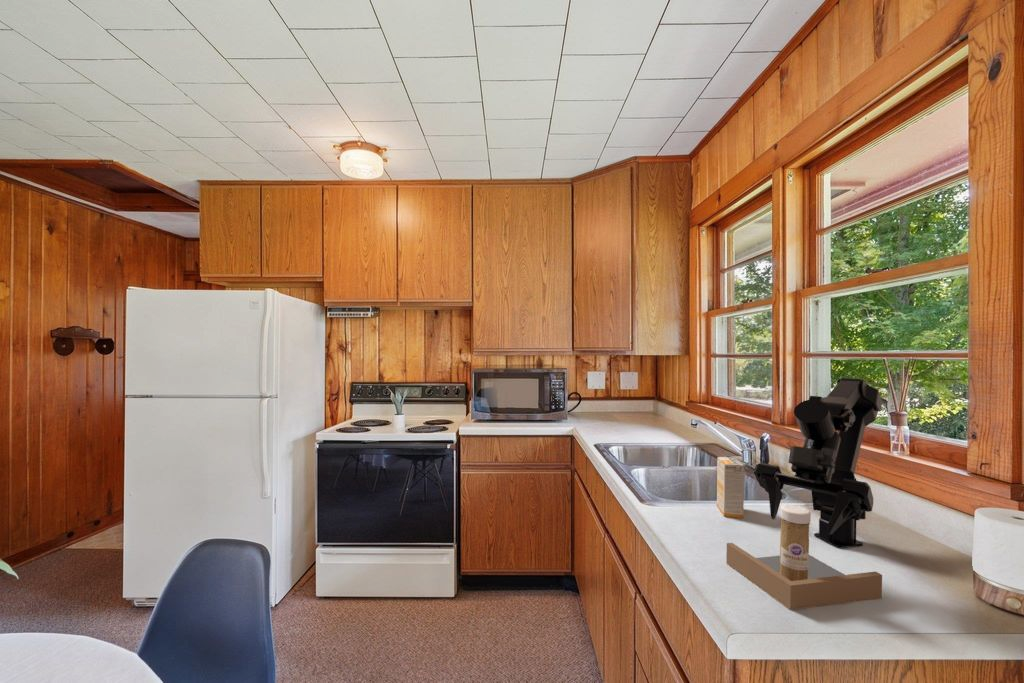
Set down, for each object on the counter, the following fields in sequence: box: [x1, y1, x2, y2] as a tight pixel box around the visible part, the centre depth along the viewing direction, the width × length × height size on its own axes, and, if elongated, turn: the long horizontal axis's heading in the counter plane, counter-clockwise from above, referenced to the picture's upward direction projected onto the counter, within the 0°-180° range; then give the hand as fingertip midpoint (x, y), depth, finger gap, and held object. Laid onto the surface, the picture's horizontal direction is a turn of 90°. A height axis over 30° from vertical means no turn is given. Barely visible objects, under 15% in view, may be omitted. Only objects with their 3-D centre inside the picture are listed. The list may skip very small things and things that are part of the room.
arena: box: [726, 542, 883, 611], centre depth 88 cm, size 18×16×4 cm
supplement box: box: [716, 456, 745, 519], centre depth 122 cm, size 8×5×13 cm, turn 168°
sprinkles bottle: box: [779, 504, 812, 581], centre depth 85 cm, size 5×5×14 cm
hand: (799, 525), depth 87 cm, fingers open, 9 cm apart
